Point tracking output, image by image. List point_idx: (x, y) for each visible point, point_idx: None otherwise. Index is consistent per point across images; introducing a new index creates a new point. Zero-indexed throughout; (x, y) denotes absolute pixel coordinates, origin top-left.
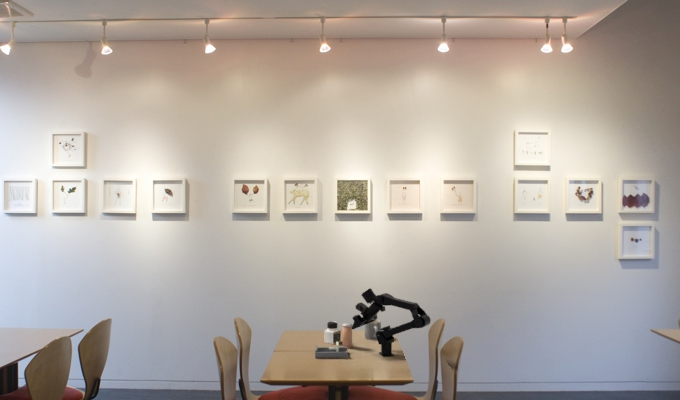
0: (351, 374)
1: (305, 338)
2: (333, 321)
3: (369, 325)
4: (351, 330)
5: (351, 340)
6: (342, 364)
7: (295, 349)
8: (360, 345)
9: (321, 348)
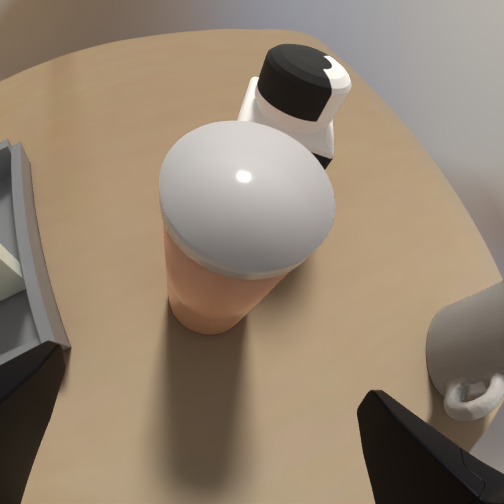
0: None
1: (255, 65)
2: (335, 65)
3: (500, 338)
4: (226, 296)
5: (210, 323)
6: None
7: (78, 80)
8: (291, 375)
9: (12, 174)
